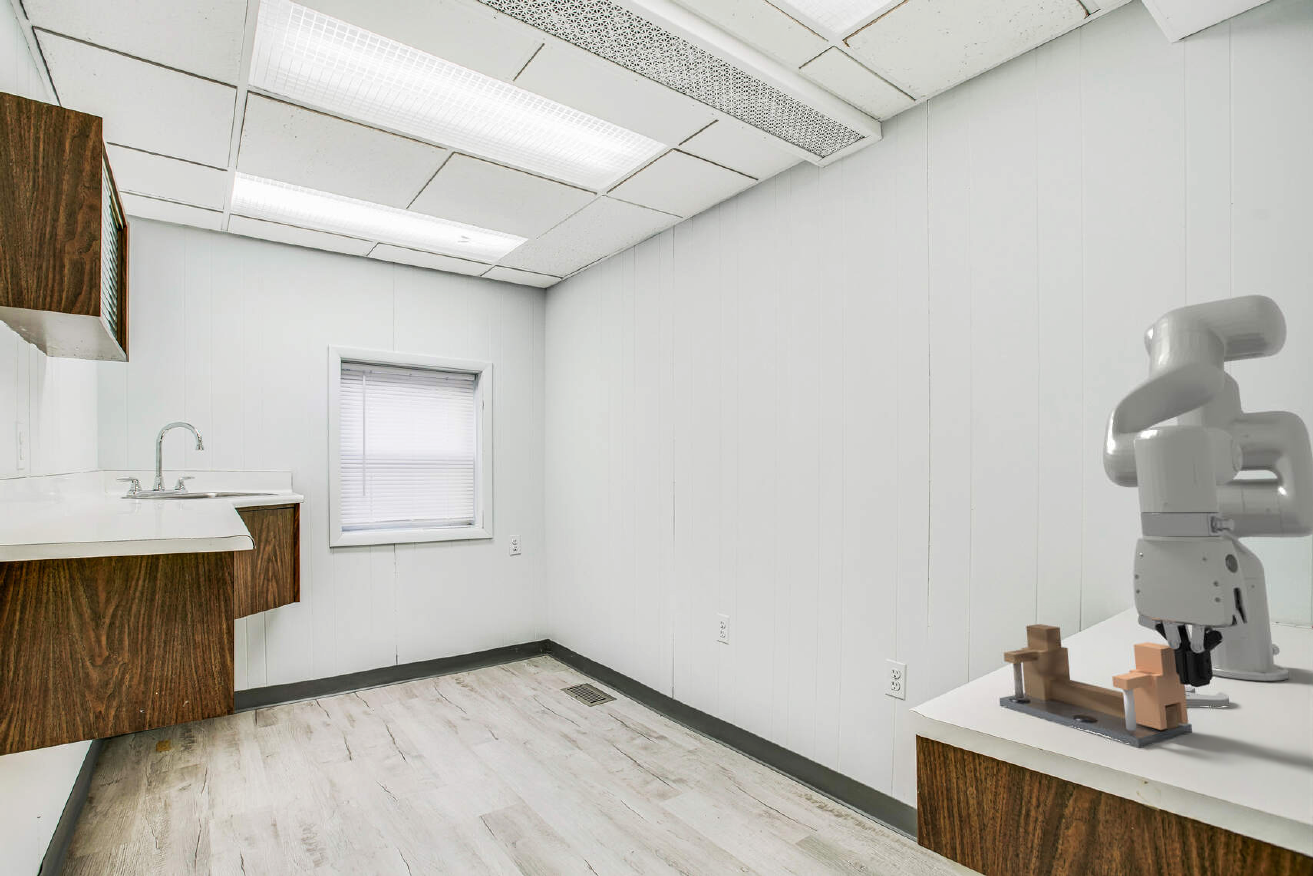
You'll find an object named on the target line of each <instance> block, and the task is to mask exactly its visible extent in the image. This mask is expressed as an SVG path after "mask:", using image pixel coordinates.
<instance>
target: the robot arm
mask: <svg viewBox="0 0 1313 876" xmlns="http://www.w3.org/2000/svg"><path fill="white" fill-rule="evenodd" d="M1286 339H1287V324H1286V319H1285V316H1284V315H1283V312H1282V310H1281V308H1280V306H1279V305H1278V304H1277V302H1275V301H1274V299H1272V298H1270V297H1268V296H1265V295H1261V294H1250V295H1243V296H1236V297H1231V298H1225V299H1220V300H1219V299H1218V300H1215V301H1209V302H1202V303H1197V304H1193V305H1192V304H1191V305H1187V306H1186V305H1185V306H1182V307H1178V308H1176V309H1172V310H1169V311H1168V312H1166V313H1164V314H1163V315H1162V316H1160V318H1158V319H1157V320H1156V322H1155V323H1153V324H1151V325H1150V326H1149V327H1147V329H1146V330H1145V332H1144V335H1143V342H1144V346H1145V350H1146V353H1147V354H1148V356H1149V367H1148V368H1149V369H1148V378H1147V379H1145V380H1144V381H1142V382H1140V384H1138V385H1136V387H1134V388H1133V389H1132V390H1130V391H1129V392H1128V393H1127V394H1126V395H1125V396H1123V398H1121V400H1119V401H1118V402H1117V404H1115V406H1114V407H1113V408H1112V409H1111V410H1110V413H1109V415H1108V418H1107V421H1106V425H1105V433H1104V440H1103V449H1102V461H1103V468H1104V471H1105V474H1106V475H1107V477H1108V478H1109V480H1110V481H1111V482H1112V483H1114V484H1115V485H1117V486H1120V487H1124V488H1137V491H1138V500H1139V501H1138V502H1139V511H1140V512H1139V513H1140V522H1141V525H1140V526H1141V535H1142V537H1140V538H1139V537H1138V538H1137V540H1136V545H1135V550H1134V551H1135V552H1134V560H1133V574H1132V575H1133V581H1132V582H1133V584H1132V585H1133V599H1134V606H1135V609H1136V612H1137V614H1138V617H1137V618H1138V619H1137V623H1138V624H1139V625H1140V626H1141V627H1144V628H1147V629H1148V630H1149V629H1150V630H1152V631H1156V632H1158V634H1160V636H1161V637H1163V638H1164V639H1165V640H1166V642H1167V645H1168V646H1170V647H1171V648H1173V649H1174V655H1175V665H1176V672H1177V674H1178V675H1179V679H1180V683H1181V684H1184V685H1185V686H1188V685H1190V687H1193V688H1200V687H1204V686H1208V685H1210V683H1211V680H1212V679H1213V676H1218V677H1224V678H1230V679H1235V680H1236V679H1238V680H1247V681H1259V682H1261V681H1262V682H1263V681H1264V682H1272V681H1273V682H1275V681H1283V680H1287V679H1288V678H1289V677H1290V675H1289V670H1288V669H1287V668H1285V667H1283V666H1282V665H1281V666H1280V665H1279V664H1275V659H1274V656H1276V655H1279V654H1280V652H1281V651H1280V647H1279V646H1278V645H1276V644H1274V643H1273V641H1272V632H1271V622H1270V615H1269V613H1270V612H1269V604H1268V596H1267V595H1268V594H1267V585H1266V577H1265V575H1266V574H1265V569H1264V566H1263V563H1262V561H1261V560H1260V558H1259V557H1258V556H1257V555H1256V553H1254V552H1253V551H1252V550H1250V548H1248V547H1247V546H1246V545H1244V544H1243V543H1242V542H1241V541H1240V540H1239V539H1241V538H1280V539H1281V538H1283V539H1284V538H1304V537H1309V536H1312V535H1313V452H1312V450H1313V449H1312V444H1311V438H1310V434H1309V431H1308V428H1307V426H1306V424H1305V422H1304V420H1303V419H1302V418H1301V417H1300V416H1299V415H1298V414H1296V413H1294V412H1291V411H1286V410H1271V411H1258V412H1244V410H1243V408H1242V404H1241V396H1240V395H1241V394H1240V388H1239V384H1238V381H1236V379H1234V378H1233V377H1232V375H1230V374H1229V373H1228V372H1227V371H1225V363H1227V362H1233V361H1234V362H1235V361H1242V360H1243V361H1244V360H1251V359H1259V358H1266V357H1268V358H1269V357H1272V356H1275V355H1277V354H1278V353H1280V352H1281V351H1282V349H1283V348H1284V346H1285V343H1286ZM1174 418H1176V423H1177V425H1166V426H1165V425H1163V426H1155V425H1157V424H1159V423H1163V422H1165V421H1168V420H1170V419H1174ZM1247 471H1248V472H1249V471H1251V472H1253V471H1269V472H1270V473H1273V474H1274V475H1275V476H1276V478H1275V477H1274V478H1272V477H1271V478H1269V477H1268V478H1246V479H1245V478H1236V476H1237V475H1238V473H1239V472H1247ZM1235 478H1236V479H1235ZM1189 626H1191V632H1190V629H1189Z"/></svg>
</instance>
